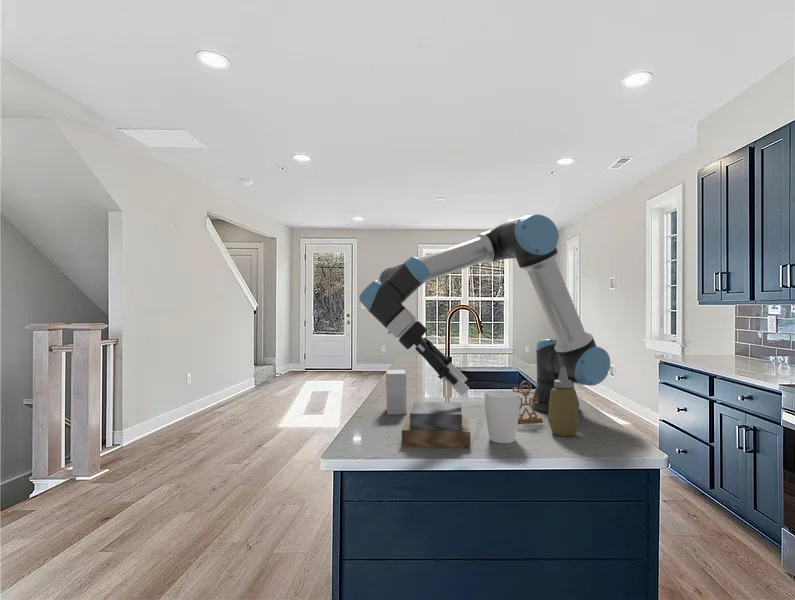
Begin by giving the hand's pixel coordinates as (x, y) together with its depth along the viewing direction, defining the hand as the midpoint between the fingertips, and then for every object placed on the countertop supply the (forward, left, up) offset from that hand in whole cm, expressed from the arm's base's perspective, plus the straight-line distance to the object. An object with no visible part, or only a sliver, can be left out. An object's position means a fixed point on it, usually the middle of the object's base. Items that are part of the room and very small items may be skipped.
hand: (465, 387), depth 127 cm
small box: (+21, -29, -14) cm, 39 cm away
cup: (-10, 0, -14) cm, 17 cm away
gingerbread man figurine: (-19, -20, -14) cm, 31 cm away
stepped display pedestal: (+7, 0, -14) cm, 16 cm away
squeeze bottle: (-27, -7, -14) cm, 31 cm away
